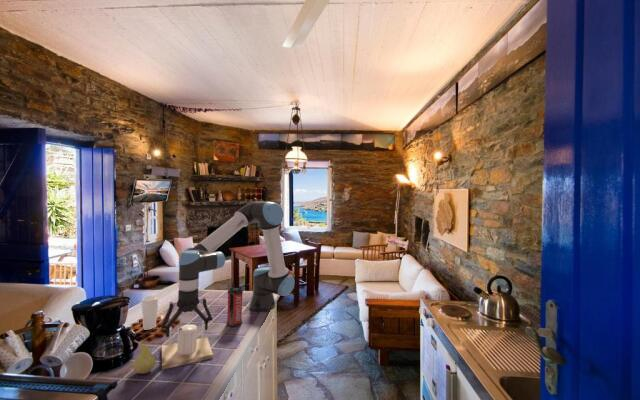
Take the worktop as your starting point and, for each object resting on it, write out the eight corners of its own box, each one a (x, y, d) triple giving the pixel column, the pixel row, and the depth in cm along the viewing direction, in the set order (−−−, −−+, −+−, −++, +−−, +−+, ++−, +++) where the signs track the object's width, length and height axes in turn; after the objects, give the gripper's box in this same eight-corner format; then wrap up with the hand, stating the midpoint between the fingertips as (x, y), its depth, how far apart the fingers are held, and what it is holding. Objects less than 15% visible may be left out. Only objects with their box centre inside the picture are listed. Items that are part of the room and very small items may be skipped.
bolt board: (206, 340, 131) (207, 323, 131) (212, 358, 117) (213, 339, 117) (161, 349, 122) (162, 331, 122) (162, 369, 108) (162, 349, 108)
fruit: (149, 378, 103) (150, 344, 103) (127, 378, 103) (128, 344, 103) (158, 367, 110) (159, 335, 110) (137, 367, 109) (138, 335, 109)
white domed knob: (195, 344, 125) (195, 321, 124) (197, 352, 118) (197, 328, 118) (176, 347, 121) (177, 324, 121) (177, 356, 115) (178, 331, 115)
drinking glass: (159, 329, 140) (160, 298, 140) (143, 333, 135) (144, 301, 135) (154, 324, 145) (155, 294, 145) (139, 328, 140) (140, 297, 140)
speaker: (237, 319, 154) (238, 285, 154) (245, 324, 149) (246, 289, 149) (223, 323, 149) (225, 288, 149) (231, 328, 143) (232, 292, 143)
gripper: (217, 282, 129) (216, 331, 129) (155, 289, 117) (153, 342, 117) (220, 287, 122) (219, 338, 122) (154, 295, 110) (153, 351, 110)
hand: (187, 340), depth 120 cm, fingers open, 12 cm apart
